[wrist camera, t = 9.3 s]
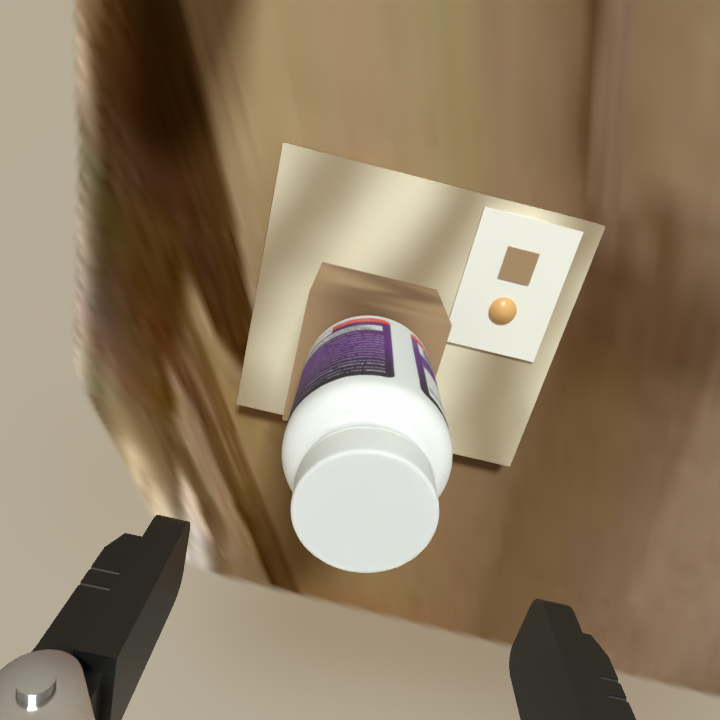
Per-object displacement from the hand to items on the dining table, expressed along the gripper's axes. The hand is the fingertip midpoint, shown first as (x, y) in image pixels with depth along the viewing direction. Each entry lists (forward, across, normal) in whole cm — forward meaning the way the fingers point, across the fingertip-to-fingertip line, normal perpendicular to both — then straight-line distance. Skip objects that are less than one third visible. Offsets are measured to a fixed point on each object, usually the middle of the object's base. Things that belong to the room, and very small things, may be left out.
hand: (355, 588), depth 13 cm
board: (+19, -2, -1) cm, 19 cm away
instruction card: (+18, -6, -4) cm, 20 cm away
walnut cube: (+18, 0, 0) cm, 18 cm away
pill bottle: (+12, 0, 0) cm, 12 cm away
